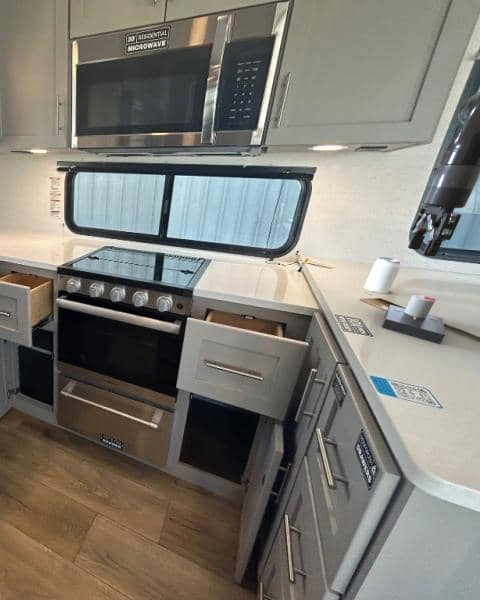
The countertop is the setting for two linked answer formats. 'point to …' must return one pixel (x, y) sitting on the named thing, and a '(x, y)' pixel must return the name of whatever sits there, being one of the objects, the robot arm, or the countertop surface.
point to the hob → (414, 324)
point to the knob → (419, 306)
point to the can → (383, 275)
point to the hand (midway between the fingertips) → (420, 252)
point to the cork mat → (379, 303)
